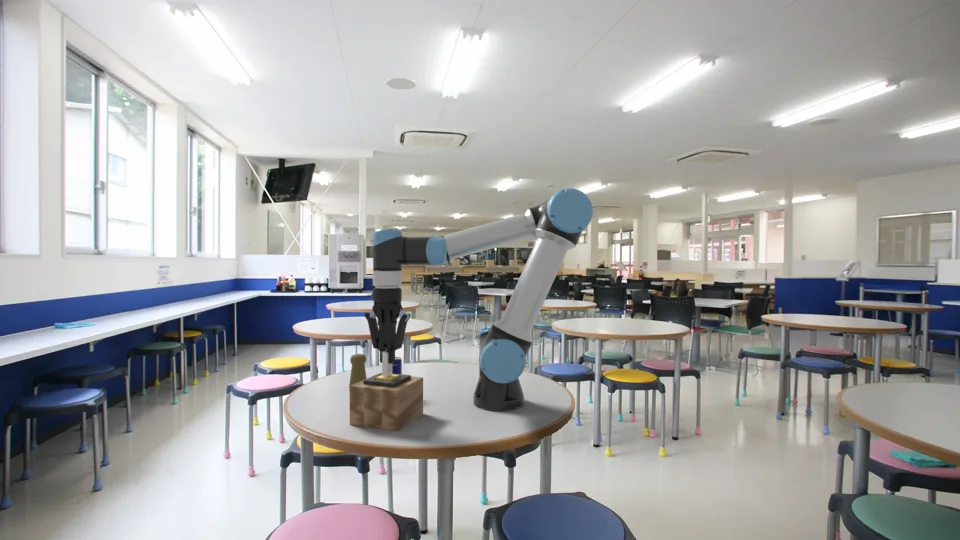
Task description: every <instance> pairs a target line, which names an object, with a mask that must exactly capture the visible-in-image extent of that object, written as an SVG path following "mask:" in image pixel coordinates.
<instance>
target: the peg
mask: <svg viewBox="0 0 960 540" xmlns="http://www.w3.org/2000/svg"><path fill="white" fill-rule="evenodd" d="M397 378H399V375H394V374H392V375H390V376H388V377H384V376H382V375H381V376H378V377H376V380H384V381H393V380H395V379H397Z"/></svg>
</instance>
